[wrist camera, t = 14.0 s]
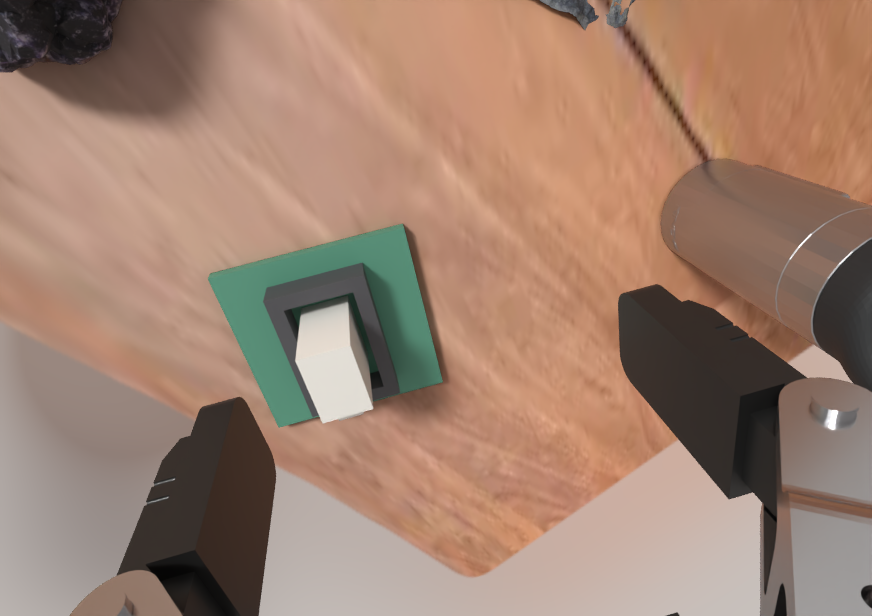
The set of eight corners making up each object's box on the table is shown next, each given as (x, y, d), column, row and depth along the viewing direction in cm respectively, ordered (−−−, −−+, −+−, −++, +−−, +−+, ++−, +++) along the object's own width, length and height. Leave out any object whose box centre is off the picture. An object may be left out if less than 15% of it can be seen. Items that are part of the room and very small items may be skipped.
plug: (347, 295, 44) (350, 345, 37) (370, 361, 47) (376, 418, 40) (301, 308, 44) (295, 361, 37) (327, 373, 47) (326, 433, 40)
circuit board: (402, 223, 43) (407, 238, 40) (441, 376, 51) (447, 398, 48) (210, 273, 42) (200, 292, 39) (279, 420, 50) (276, 446, 47)
